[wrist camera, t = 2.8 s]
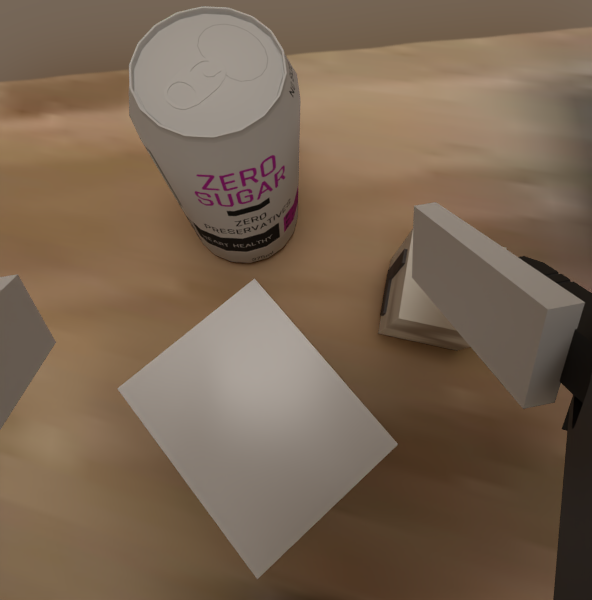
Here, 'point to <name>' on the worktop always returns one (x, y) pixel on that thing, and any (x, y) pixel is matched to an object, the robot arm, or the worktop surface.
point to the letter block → (413, 307)
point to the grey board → (257, 424)
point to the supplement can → (221, 127)
